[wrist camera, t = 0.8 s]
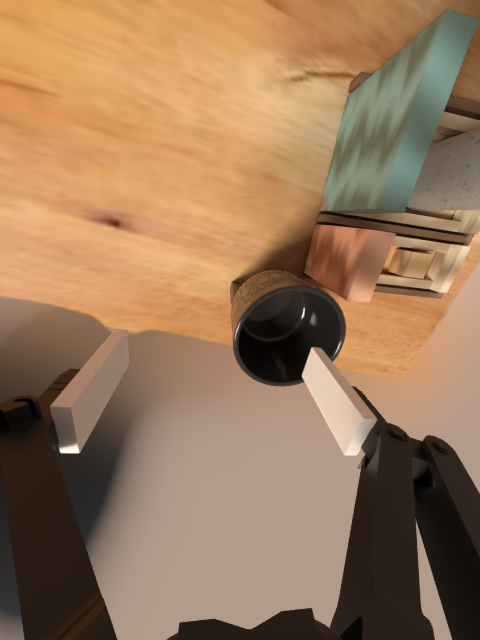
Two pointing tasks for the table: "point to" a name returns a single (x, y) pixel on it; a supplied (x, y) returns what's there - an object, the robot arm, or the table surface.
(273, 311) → the planter
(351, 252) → the cube sled
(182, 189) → the table surface
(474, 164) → the speckled stone cylinder
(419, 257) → the oak cube
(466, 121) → the can sled
